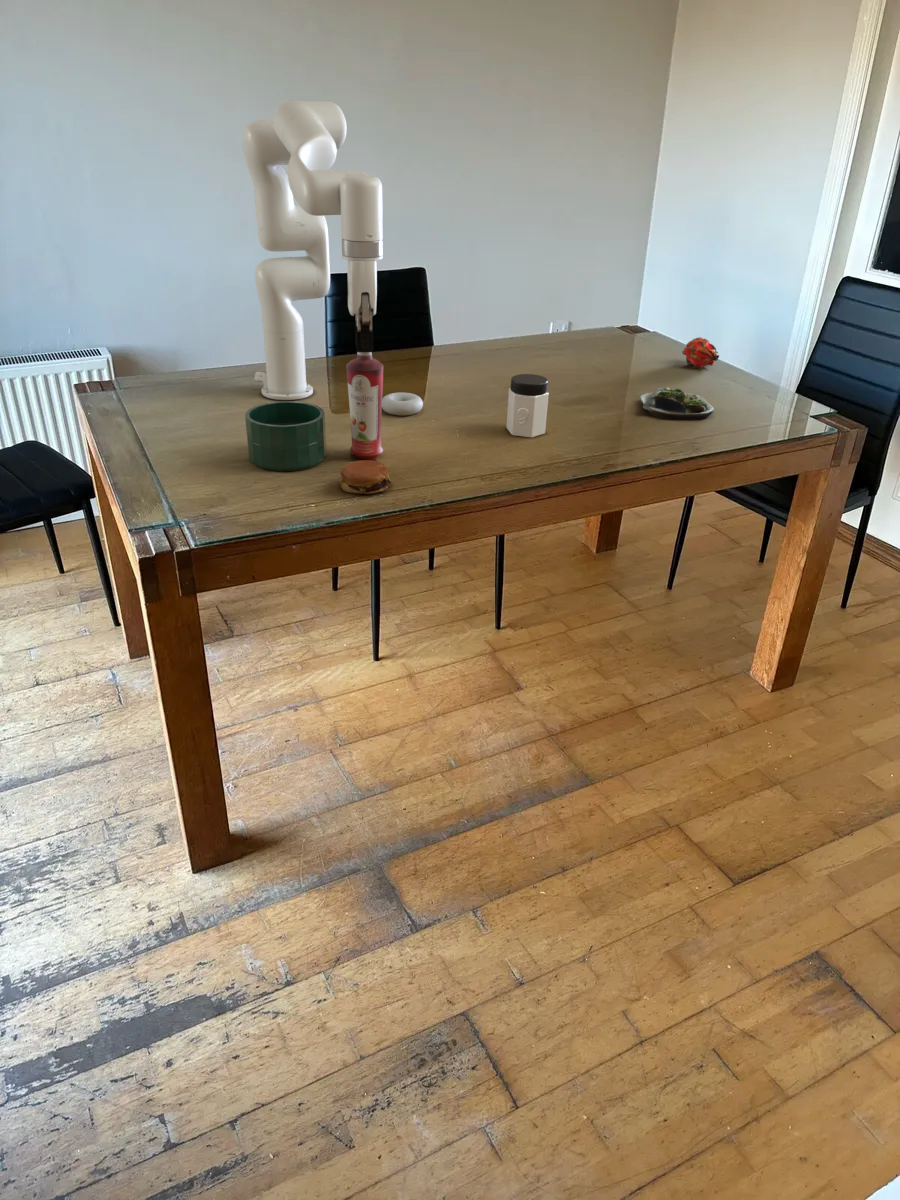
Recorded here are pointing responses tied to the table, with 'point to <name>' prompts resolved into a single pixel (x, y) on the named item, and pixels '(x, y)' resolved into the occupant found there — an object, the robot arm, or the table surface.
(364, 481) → the burger
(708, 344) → the dragon fruit
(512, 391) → the jar
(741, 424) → the table surface
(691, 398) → the salad plate
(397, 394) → the donut
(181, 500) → the table surface
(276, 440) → the ice bucket
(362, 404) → the liquor
